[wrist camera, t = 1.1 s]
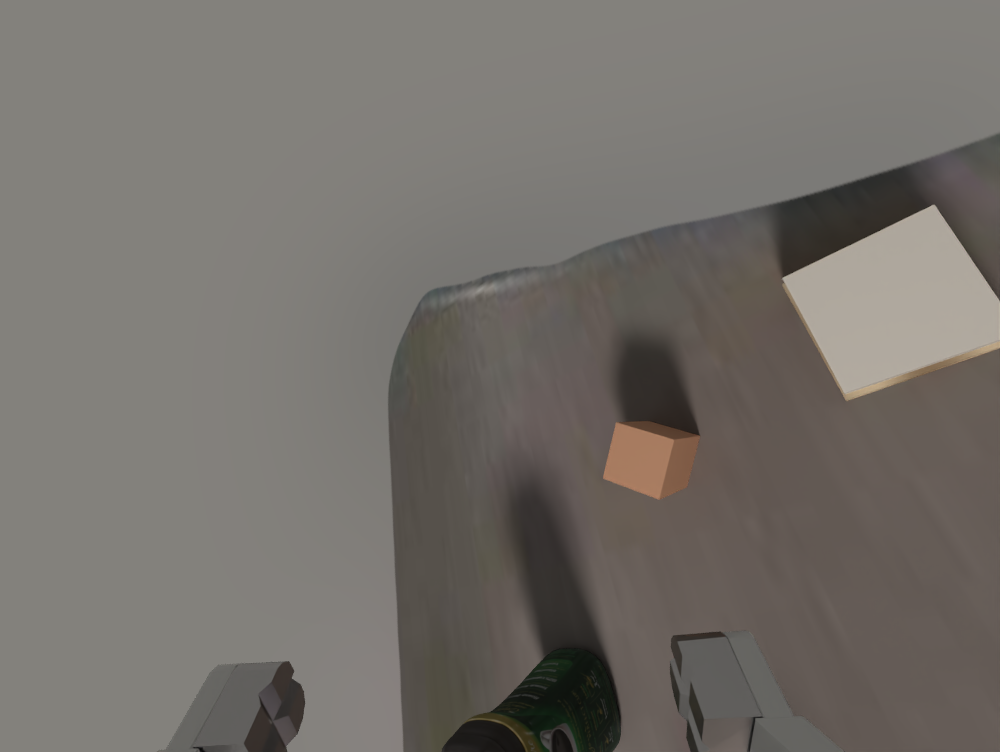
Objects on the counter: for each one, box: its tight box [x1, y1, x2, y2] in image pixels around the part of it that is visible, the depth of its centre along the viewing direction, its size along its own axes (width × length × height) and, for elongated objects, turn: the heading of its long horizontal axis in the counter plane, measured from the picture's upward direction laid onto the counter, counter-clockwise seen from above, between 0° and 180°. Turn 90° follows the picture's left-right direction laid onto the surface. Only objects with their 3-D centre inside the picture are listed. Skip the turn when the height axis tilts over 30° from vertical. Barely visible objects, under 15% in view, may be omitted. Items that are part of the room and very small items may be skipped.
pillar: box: [603, 421, 700, 500], centre depth 43 cm, size 5×5×8 cm
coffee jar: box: [442, 648, 621, 752], centre depth 43 cm, size 10×8×19 cm
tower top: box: [782, 205, 1000, 394], centre depth 33 cm, size 9×9×4 cm
